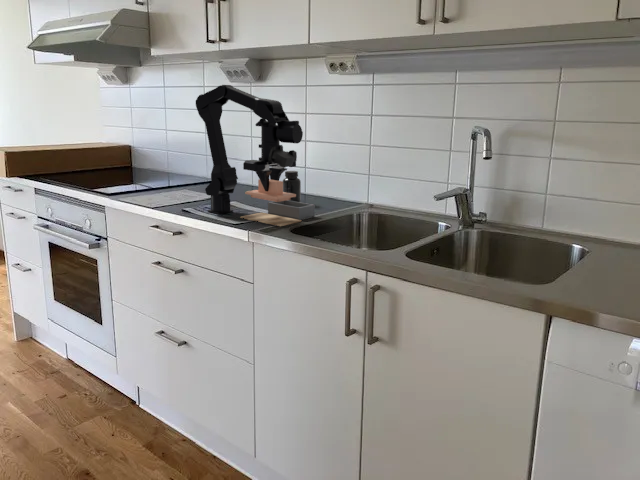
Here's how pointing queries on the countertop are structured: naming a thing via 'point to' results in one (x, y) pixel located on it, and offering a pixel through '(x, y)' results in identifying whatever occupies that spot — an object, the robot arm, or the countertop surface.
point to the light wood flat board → (271, 219)
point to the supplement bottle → (292, 185)
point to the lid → (271, 192)
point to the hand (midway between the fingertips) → (270, 190)
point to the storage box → (291, 209)
